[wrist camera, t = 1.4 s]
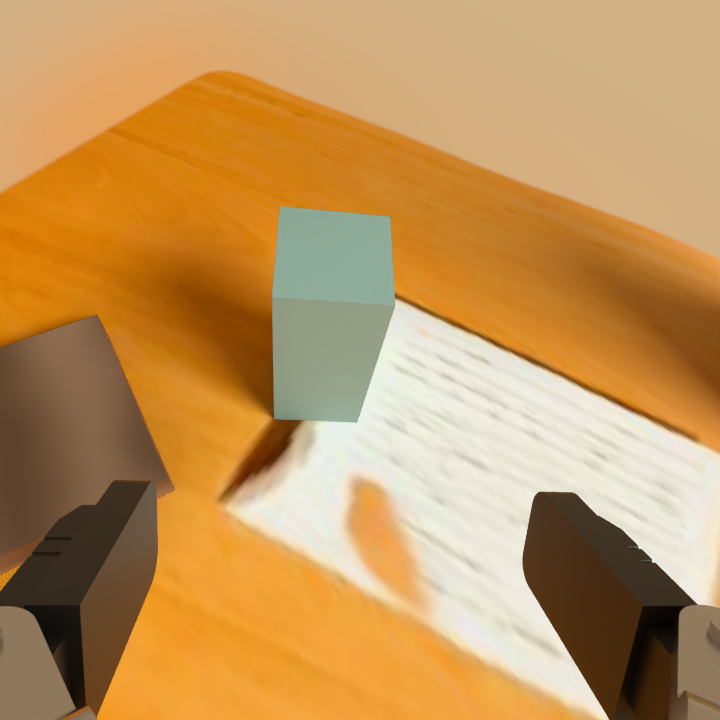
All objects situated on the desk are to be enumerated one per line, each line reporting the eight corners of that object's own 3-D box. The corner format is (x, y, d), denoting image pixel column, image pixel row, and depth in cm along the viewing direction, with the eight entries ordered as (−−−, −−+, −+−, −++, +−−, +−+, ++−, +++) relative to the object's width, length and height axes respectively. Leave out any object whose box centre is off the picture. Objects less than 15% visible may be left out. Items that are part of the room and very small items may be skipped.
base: (107, 334, 30) (97, 314, 28) (174, 489, 26) (167, 477, 24) (-100, 409, 26) (-127, 391, 24) (-56, 601, 22) (-85, 596, 21)
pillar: (356, 352, 31) (390, 216, 22) (356, 422, 29) (394, 305, 19) (279, 347, 31) (279, 206, 21) (274, 418, 28) (272, 296, 19)
